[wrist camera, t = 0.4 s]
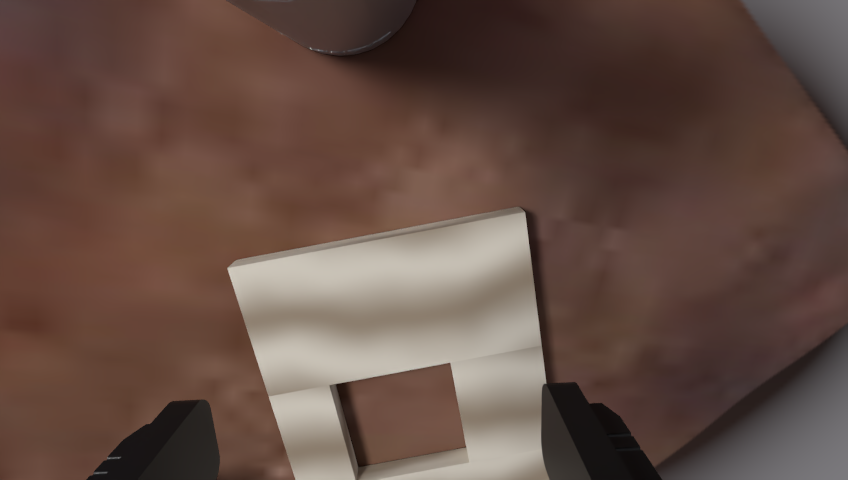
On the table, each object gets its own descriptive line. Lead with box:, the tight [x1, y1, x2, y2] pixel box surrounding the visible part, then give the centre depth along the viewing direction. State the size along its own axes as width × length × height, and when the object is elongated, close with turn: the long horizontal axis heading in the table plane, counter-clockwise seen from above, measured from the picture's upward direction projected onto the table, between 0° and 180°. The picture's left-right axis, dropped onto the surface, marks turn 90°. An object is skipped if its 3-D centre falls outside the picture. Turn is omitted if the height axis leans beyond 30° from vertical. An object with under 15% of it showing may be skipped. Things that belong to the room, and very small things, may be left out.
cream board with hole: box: [227, 207, 549, 480], centre depth 31 cm, size 22×18×2 cm
